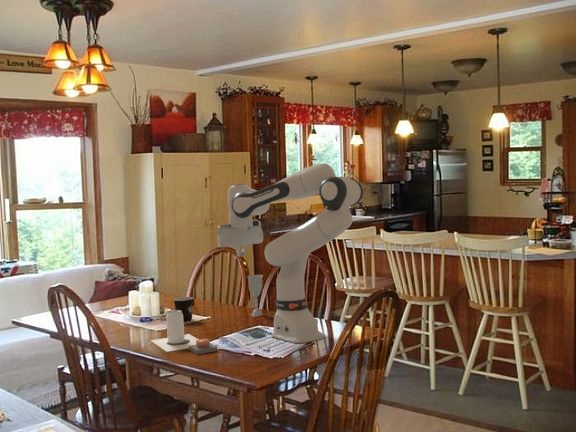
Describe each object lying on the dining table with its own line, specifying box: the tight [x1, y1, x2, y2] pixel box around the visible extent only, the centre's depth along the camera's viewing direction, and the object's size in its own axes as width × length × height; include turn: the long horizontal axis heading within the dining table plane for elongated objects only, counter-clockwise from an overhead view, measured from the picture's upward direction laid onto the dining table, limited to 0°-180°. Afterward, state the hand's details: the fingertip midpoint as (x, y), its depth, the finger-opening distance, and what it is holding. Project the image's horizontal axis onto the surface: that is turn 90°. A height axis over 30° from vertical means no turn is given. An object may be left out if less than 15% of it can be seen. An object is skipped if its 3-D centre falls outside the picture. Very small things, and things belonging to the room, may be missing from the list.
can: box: [165, 309, 185, 344], centre depth 246 cm, size 6×6×12 cm
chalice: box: [246, 274, 264, 317], centre depth 289 cm, size 7×7×18 cm
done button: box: [196, 338, 211, 347], centre depth 234 cm, size 5×5×2 cm
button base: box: [188, 342, 218, 356], centre depth 234 cm, size 8×8×2 cm
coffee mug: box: [173, 296, 195, 323], centre depth 286 cm, size 12×9×10 cm
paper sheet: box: [150, 333, 199, 353], centre depth 246 cm, size 20×16×1 cm
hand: (241, 256), depth 265 cm, fingers closed
